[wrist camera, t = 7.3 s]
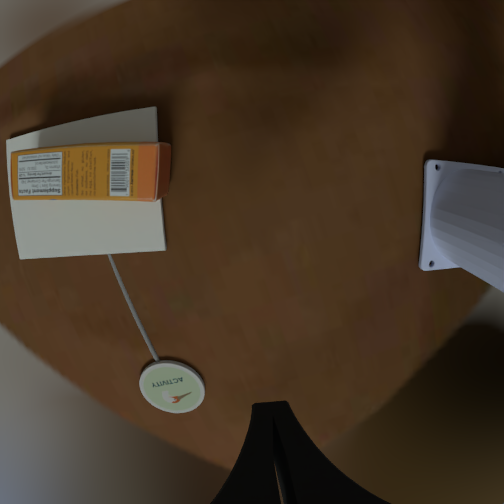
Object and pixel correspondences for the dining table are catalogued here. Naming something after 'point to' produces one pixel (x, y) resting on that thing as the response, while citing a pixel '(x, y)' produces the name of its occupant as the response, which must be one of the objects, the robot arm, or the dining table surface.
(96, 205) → the mat
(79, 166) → the supplement box
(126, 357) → the dining table surface
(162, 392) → the sign
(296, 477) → the robot arm
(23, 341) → the dining table surface
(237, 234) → the dining table surface
